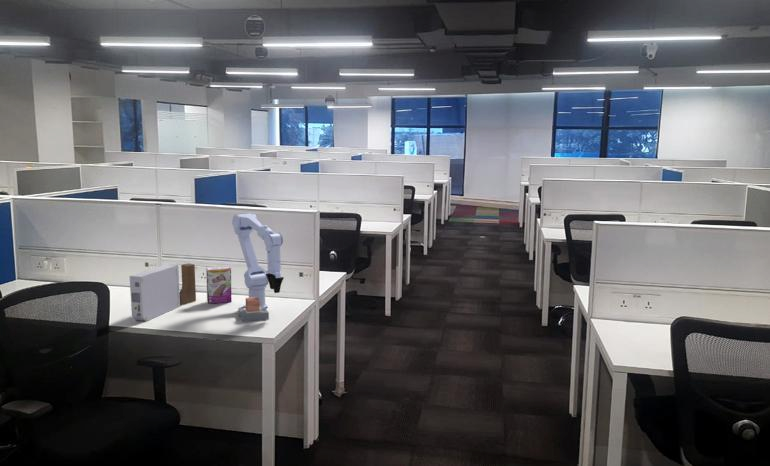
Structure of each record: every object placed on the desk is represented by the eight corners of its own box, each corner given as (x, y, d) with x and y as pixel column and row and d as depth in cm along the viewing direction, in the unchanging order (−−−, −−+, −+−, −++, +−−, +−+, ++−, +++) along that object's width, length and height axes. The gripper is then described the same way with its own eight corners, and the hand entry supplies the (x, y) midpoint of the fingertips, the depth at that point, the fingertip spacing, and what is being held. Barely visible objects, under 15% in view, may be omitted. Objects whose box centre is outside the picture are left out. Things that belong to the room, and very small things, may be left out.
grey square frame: (238, 315, 267) (238, 308, 267) (263, 312, 272) (263, 305, 271) (243, 321, 257) (242, 314, 257) (268, 319, 262) (268, 311, 261)
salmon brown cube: (245, 309, 265) (245, 298, 264) (257, 307, 267) (256, 296, 266) (248, 312, 261) (247, 300, 260) (259, 310, 263) (259, 299, 262)
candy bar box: (207, 304, 284) (206, 270, 282) (206, 301, 289) (205, 268, 287) (232, 302, 288) (231, 268, 286) (230, 299, 293) (229, 266, 291)
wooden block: (181, 305, 282) (179, 267, 280) (174, 303, 285) (172, 266, 282) (196, 301, 290) (194, 264, 287) (190, 299, 292) (188, 263, 290)
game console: (182, 306, 281) (180, 264, 278) (143, 323, 255) (141, 276, 252) (171, 305, 282) (169, 263, 279) (132, 321, 257) (129, 275, 254)
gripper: (261, 258, 272) (262, 288, 274) (268, 264, 258) (269, 295, 260) (277, 257, 274) (277, 286, 276) (284, 263, 261) (285, 293, 263)
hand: (274, 290), depth 269 cm, fingers open, 7 cm apart
